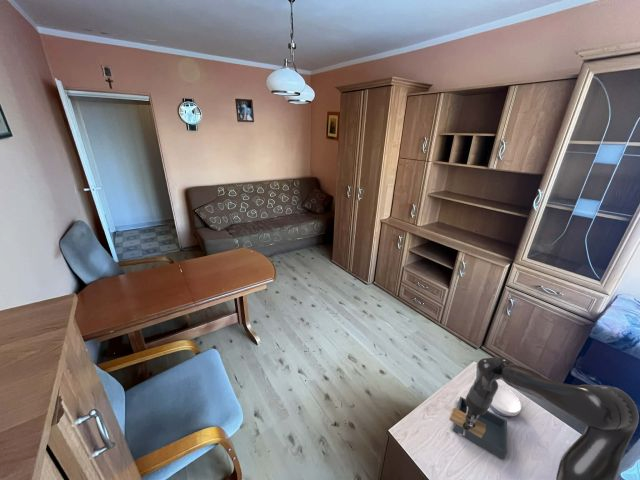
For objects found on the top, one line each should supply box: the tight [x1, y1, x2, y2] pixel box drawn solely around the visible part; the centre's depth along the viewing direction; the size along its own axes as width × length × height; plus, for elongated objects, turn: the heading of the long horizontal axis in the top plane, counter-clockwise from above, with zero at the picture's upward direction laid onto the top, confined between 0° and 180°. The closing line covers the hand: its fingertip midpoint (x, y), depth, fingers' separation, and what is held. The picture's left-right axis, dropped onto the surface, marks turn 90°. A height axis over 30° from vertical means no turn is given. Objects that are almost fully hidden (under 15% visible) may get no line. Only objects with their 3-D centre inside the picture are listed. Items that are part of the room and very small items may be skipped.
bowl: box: [489, 384, 522, 417], centre depth 130 cm, size 14×14×8 cm
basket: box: [452, 396, 508, 460], centre depth 121 cm, size 16×20×6 cm
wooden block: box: [448, 406, 486, 438], centre depth 105 cm, size 7×12×5 cm, turn 57°
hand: (465, 424), depth 108 cm, fingers closed on wooden block, 3 cm apart
